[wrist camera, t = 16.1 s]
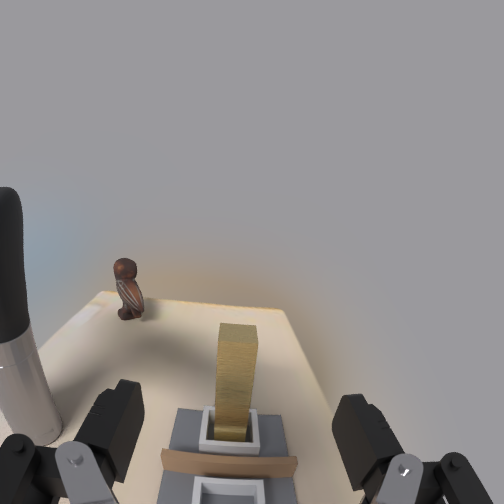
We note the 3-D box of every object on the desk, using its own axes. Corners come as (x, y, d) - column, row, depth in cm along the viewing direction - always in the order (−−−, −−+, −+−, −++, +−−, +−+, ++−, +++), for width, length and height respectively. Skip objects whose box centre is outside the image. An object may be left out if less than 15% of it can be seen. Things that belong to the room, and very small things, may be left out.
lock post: (243, 450, 31) (258, 343, 28) (213, 448, 31) (218, 340, 27) (242, 430, 35) (255, 325, 31) (215, 428, 35) (220, 322, 31)
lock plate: (303, 550, 16) (314, 540, 15) (150, 543, 15) (142, 533, 14) (280, 418, 39) (284, 399, 38) (178, 411, 38) (177, 392, 37)
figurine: (150, 324, 64) (148, 263, 62) (130, 328, 60) (126, 264, 58) (131, 309, 73) (128, 255, 71) (113, 312, 69) (110, 257, 67)
